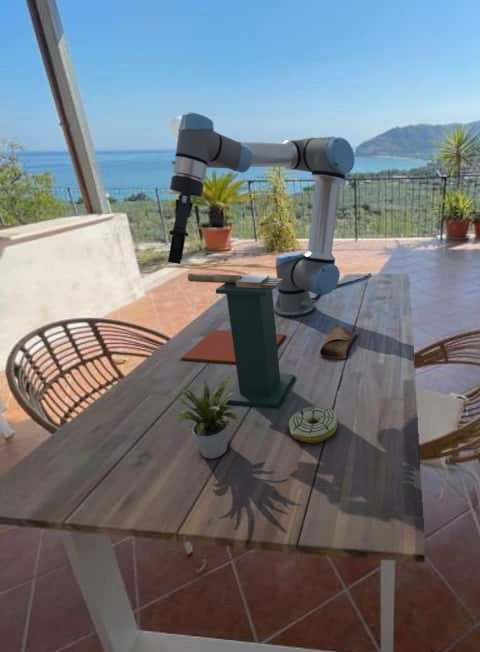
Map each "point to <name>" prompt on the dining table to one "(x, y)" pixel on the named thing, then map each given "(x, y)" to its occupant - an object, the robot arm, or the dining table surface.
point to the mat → (217, 348)
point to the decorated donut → (313, 424)
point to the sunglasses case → (338, 343)
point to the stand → (255, 347)
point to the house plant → (209, 420)
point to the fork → (237, 280)
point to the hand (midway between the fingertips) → (175, 260)
